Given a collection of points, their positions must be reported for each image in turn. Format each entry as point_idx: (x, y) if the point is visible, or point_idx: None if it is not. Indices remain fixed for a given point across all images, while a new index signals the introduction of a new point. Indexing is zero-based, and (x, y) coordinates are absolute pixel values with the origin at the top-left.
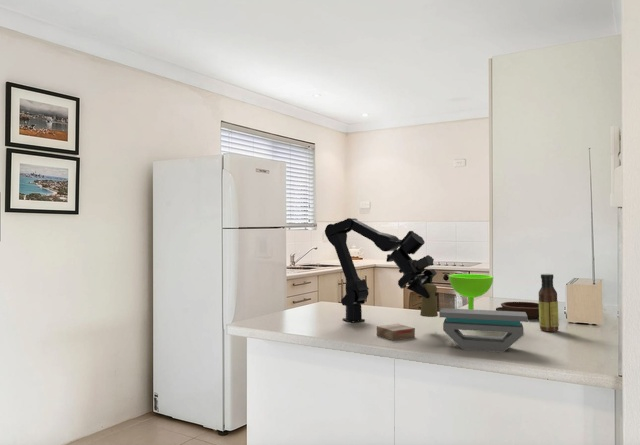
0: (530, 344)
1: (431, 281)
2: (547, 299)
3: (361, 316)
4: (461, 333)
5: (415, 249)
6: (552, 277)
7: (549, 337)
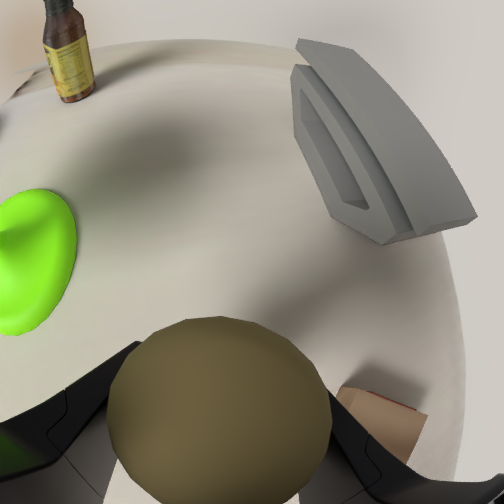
0: (239, 97)
1: (15, 434)
2: (82, 29)
3: None
4: (357, 202)
5: None
6: None
7: (148, 81)
